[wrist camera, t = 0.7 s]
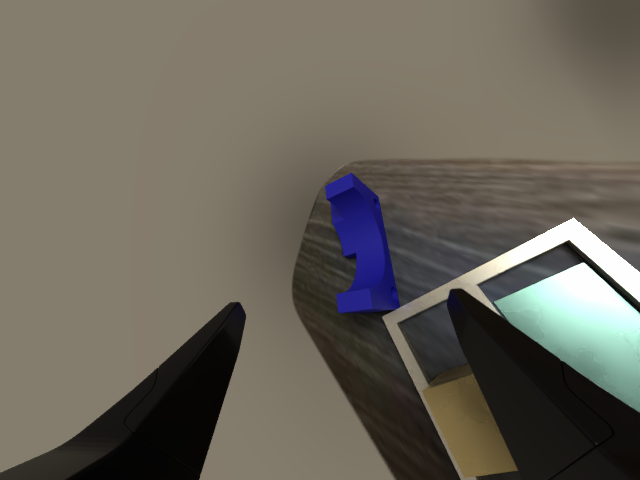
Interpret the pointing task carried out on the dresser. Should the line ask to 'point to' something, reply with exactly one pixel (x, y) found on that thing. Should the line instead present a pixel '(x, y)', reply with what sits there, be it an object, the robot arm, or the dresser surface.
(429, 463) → the dresser surface
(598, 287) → the grey divided frame
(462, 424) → the yellow rectangular block
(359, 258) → the cable clip
